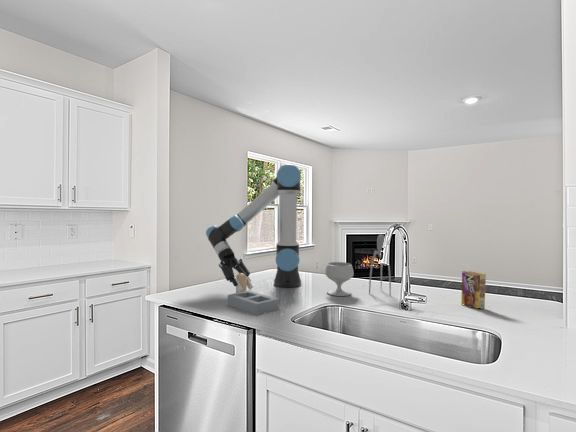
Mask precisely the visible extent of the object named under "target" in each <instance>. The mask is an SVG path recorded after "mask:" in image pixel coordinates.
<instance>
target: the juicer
mask: <svg viewBox="0 0 576 432" xmlns="http://www.w3.org/2000/svg"><path fill="white" fill-rule="evenodd" d="M384 238H385V239H386V237H385V236H384V234H378V236H377V239H376V248H377V250H376V249H375V250H374V252H373V255H372V259H371V264H370V271H369V282H368V284H369V285H368V289H369V290H368V294H369V295H370V294H371V287H372V285H371V284H372V275H373V266H374V261H375V259H376V256H377V255H378V258H379V257H380V250H381V248H382V246H383V242H384ZM390 265H391V264H390V263H389V265H388V264H387V268H388V269H387V270H388V283H389V296H391V294H392V293H391V292H392V291H391V288H392V286H391V285H392V284H391V283H392V281H391V266H390ZM382 282H383V264H382V265H380V290H382V284H383V283H382Z"/></svg>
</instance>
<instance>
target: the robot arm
mask: <svg viewBox="0 0 576 432" xmlns="http://www.w3.org/2000/svg"><path fill="white" fill-rule="evenodd" d="M301 174H302V173H301V171H300V169H299V167H297V166H296V165H295V164H292V163H286V164H283V165H281V166H280V167H279V168H278V169H277V172H276V176H275V178H274V179H273V180H272V181H271V184H270V185H269V186H268V187H266V188H265V189H264V190H263V191H262V192H261V193H260V194H259V195H257V197H255V198H254V199H253V200H252V201H251V202H250V203H249V204H247V205H246V206H245V207H244V208H243V209H242V210H240V211H239V212H238V213H237V214H235V215H232V216H230V218H229V219H227V220H225V222H223V223H222V224H221V225H219V226H218V225H212V226H210V227H208V228H207V229H206V231H205V235H206V237H207V240H208V241H209V243H210V245H211V246H212V247H213V249H214V251H215V253H216V255H217V256H218V260H220V262H219V263H218V267H219V268H220V270H221V271H222V274H223V276H224V277H225V281H227V282H229V283H232V285H233V286H234V287H235V289H236V288H237V290H238V292H239V293H240V292H241V291H242V290H243V288H242V287H241V285H240V283H239V281H238V280H237V278H236V276H235V273H234V270H236V272H237V273H238V274H239V273H243V274H245V275H246V278H247V282H246V288H248V291H252V289H253V288H254V285H253V283H252V281H251V279H250V277H249V276H250V274H251V272H250V271H249V269H248V268H247V266H246V265H245V264H244V262H243V259H242V258H240V259H237V257H235V252H234V251H233V249H232V247H231V246H230V244H229V242H228V241H227V239H229V238H230V237H231V236H233V235H234V234H235V233H237V232H240V231H241V230H242V229H243V228H244V227H245V226H247V225H248V224H249V223H250V222H251V221H252V220H253V219H255V218H256V217H257V216H258V215H259V214H260V213H261V212H262V211H264V210H265V209H266V208H267V207H268V206H269V205H270V204H272V203H273V202H274V201H275V200H276V199H278V197H279V240H278V242H276V246H275V247H276V249H275V250H276V251H275V252H276V256H275V263H276V265H277V266H276V267H277V269H276V274H275V277H274V279H273V285H274V286H276V287H279V288H296V287H301V285H302V279H301V276H300V273H299V264H300V244H299V242H297V220H298V219H297V217H298V215H297V214H298V213H297V212H298V211H297V210H298V208H297V207H298V194H299V193H300V192H301V178H302V177H301Z"/></svg>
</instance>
